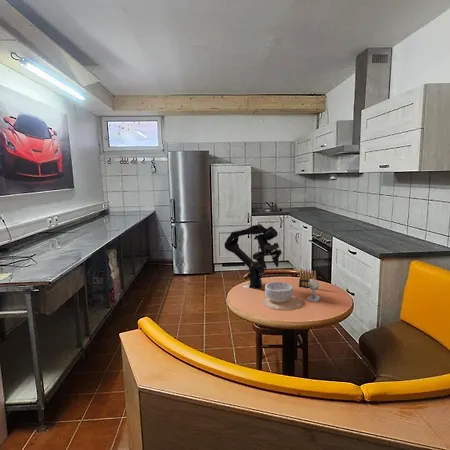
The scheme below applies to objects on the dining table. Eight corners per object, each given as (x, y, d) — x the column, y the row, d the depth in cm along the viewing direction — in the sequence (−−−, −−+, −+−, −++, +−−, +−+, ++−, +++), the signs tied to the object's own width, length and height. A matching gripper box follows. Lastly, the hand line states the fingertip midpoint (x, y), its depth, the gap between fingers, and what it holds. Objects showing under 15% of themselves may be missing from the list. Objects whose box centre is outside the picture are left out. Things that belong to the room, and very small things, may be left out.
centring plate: (256, 305, 178) (256, 305, 178) (270, 293, 197) (271, 292, 197) (296, 313, 168) (296, 312, 168) (307, 299, 187) (307, 298, 187)
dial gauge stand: (306, 300, 185) (307, 279, 183) (309, 296, 190) (310, 276, 189) (317, 301, 182) (318, 280, 181) (320, 298, 188) (320, 277, 186)
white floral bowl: (271, 306, 177) (271, 291, 176) (260, 296, 191) (260, 283, 190) (297, 303, 181) (297, 289, 180) (285, 293, 195) (285, 280, 194)
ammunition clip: (298, 287, 208) (299, 268, 206) (299, 286, 209) (300, 267, 208) (315, 289, 202) (316, 270, 201) (316, 288, 204) (317, 269, 202)
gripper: (259, 239, 189) (267, 264, 184) (283, 237, 200) (291, 261, 195) (248, 246, 198) (256, 271, 193) (272, 244, 208) (280, 267, 203)
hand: (271, 267), depth 195 cm, fingers open, 9 cm apart
